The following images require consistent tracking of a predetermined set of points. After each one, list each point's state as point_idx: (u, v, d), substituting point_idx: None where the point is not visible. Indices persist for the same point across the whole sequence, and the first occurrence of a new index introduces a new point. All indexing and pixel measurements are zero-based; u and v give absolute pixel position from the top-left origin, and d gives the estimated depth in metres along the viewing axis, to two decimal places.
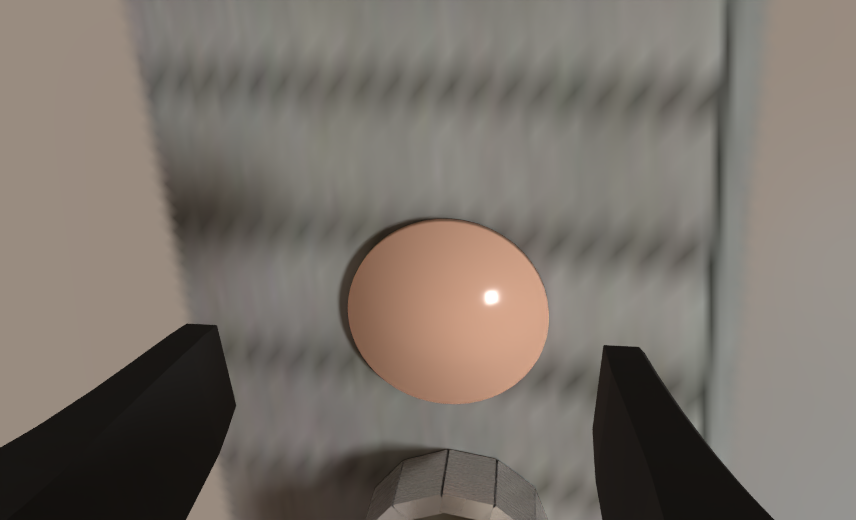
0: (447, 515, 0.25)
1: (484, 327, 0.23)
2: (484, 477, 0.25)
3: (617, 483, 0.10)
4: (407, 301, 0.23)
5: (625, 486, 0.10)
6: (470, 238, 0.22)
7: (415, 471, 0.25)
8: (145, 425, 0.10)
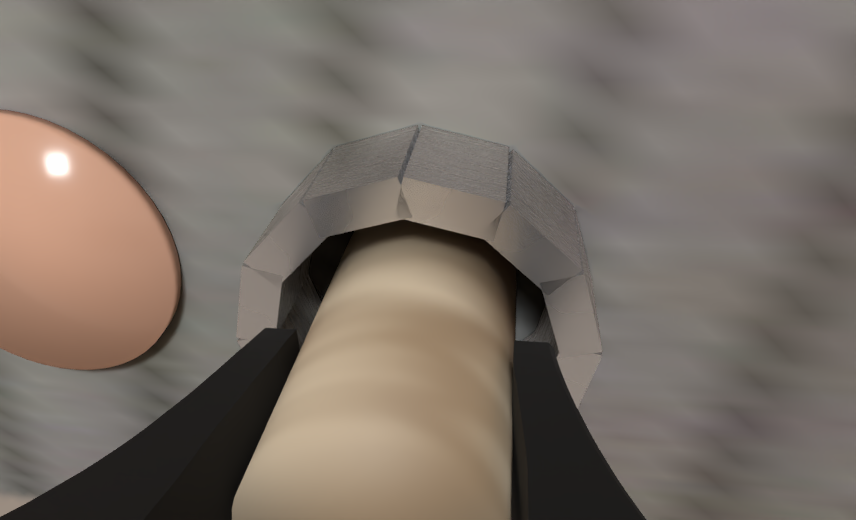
0: None
1: (28, 209, 0.15)
2: None
3: (516, 475, 0.11)
4: (22, 300, 0.17)
5: (519, 478, 0.10)
6: None
7: None
8: (240, 432, 0.10)
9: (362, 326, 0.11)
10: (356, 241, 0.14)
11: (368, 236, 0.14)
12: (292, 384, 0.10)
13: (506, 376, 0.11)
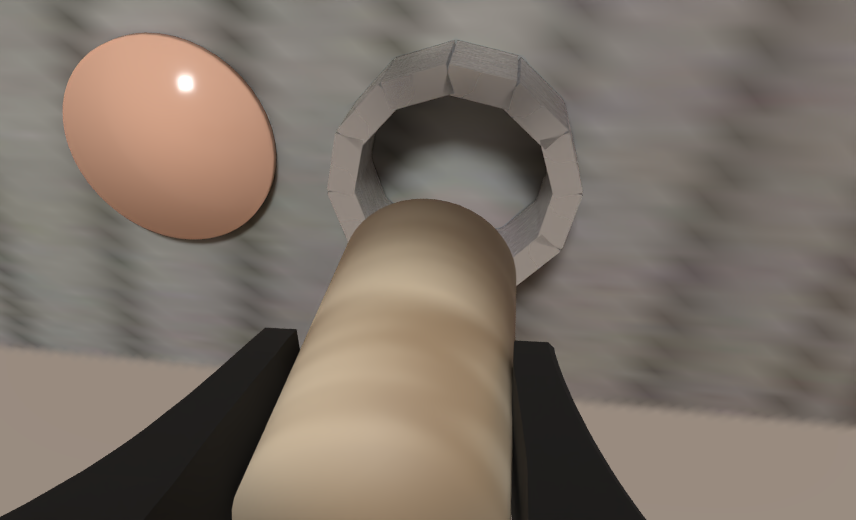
0: None
1: (170, 108, 0.21)
2: None
3: (516, 475, 0.11)
4: (157, 181, 0.23)
5: (518, 478, 0.10)
6: (75, 113, 0.22)
7: None
8: (240, 432, 0.10)
9: (362, 326, 0.11)
10: (356, 241, 0.14)
11: (368, 236, 0.14)
12: (292, 384, 0.10)
13: (506, 376, 0.11)
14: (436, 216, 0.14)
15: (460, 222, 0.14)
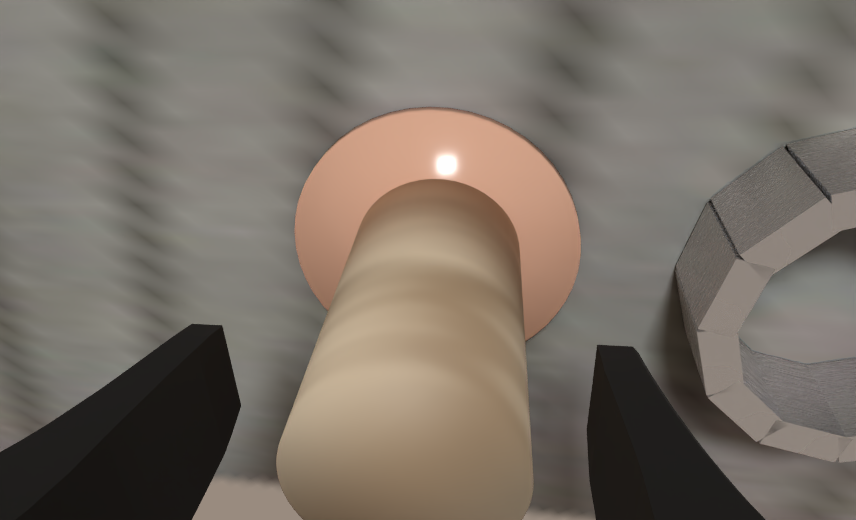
0: None
1: None
2: (712, 241, 0.15)
3: (610, 483, 0.10)
4: None
5: (618, 486, 0.10)
6: (314, 209, 0.16)
7: (688, 330, 0.16)
8: (151, 426, 0.10)
9: (385, 288, 0.12)
10: (370, 220, 0.15)
11: (381, 214, 0.15)
12: (324, 343, 0.11)
13: (519, 332, 0.12)
14: (444, 193, 0.15)
15: (467, 198, 0.15)
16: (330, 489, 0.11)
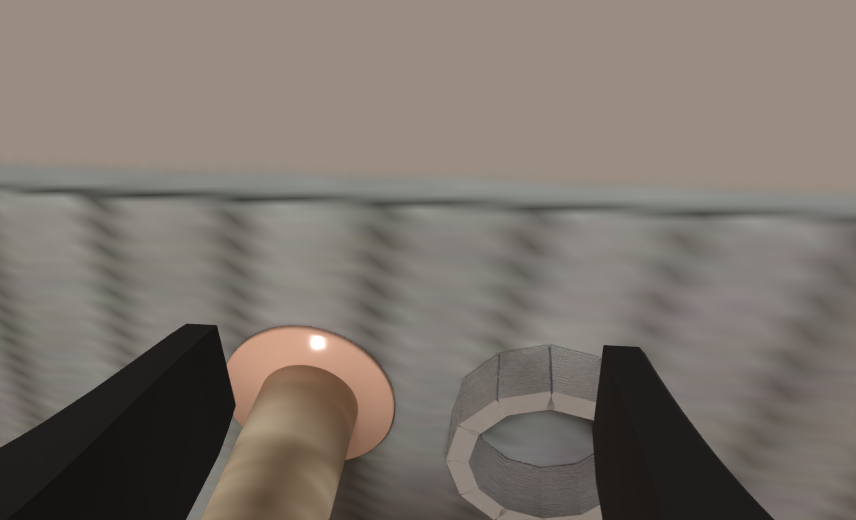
0: None
1: None
2: (458, 407, 0.25)
3: (617, 483, 0.10)
4: None
5: (625, 486, 0.10)
6: (234, 376, 0.27)
7: None
8: (145, 425, 0.10)
9: (251, 455, 0.23)
10: (261, 392, 0.26)
11: (266, 391, 0.25)
12: (218, 486, 0.22)
13: (327, 473, 0.23)
14: (303, 378, 0.26)
15: (317, 381, 0.26)
16: None
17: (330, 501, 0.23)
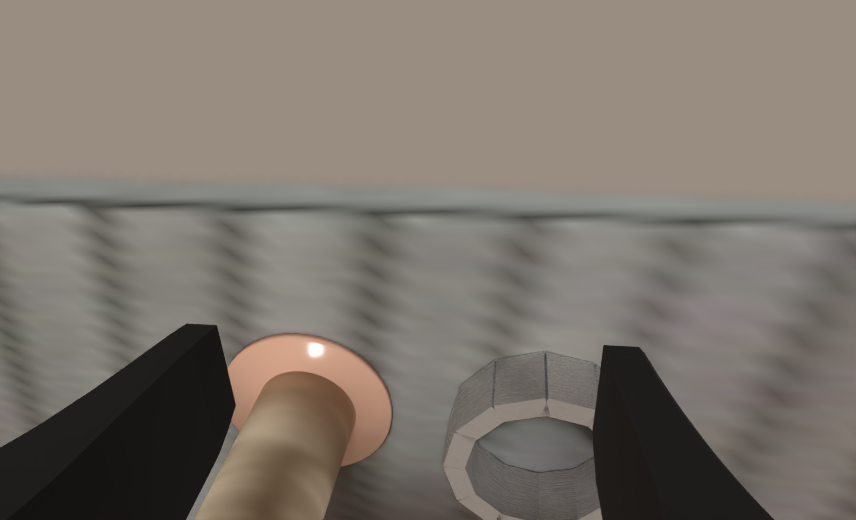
0: None
1: None
2: (455, 414, 0.26)
3: (617, 483, 0.10)
4: None
5: (625, 486, 0.10)
6: (233, 384, 0.27)
7: None
8: (145, 425, 0.10)
9: (244, 459, 0.23)
10: (259, 398, 0.26)
11: (264, 396, 0.26)
12: (211, 489, 0.22)
13: (320, 478, 0.23)
14: (300, 384, 0.26)
15: (313, 387, 0.26)
16: None
17: (322, 506, 0.23)
